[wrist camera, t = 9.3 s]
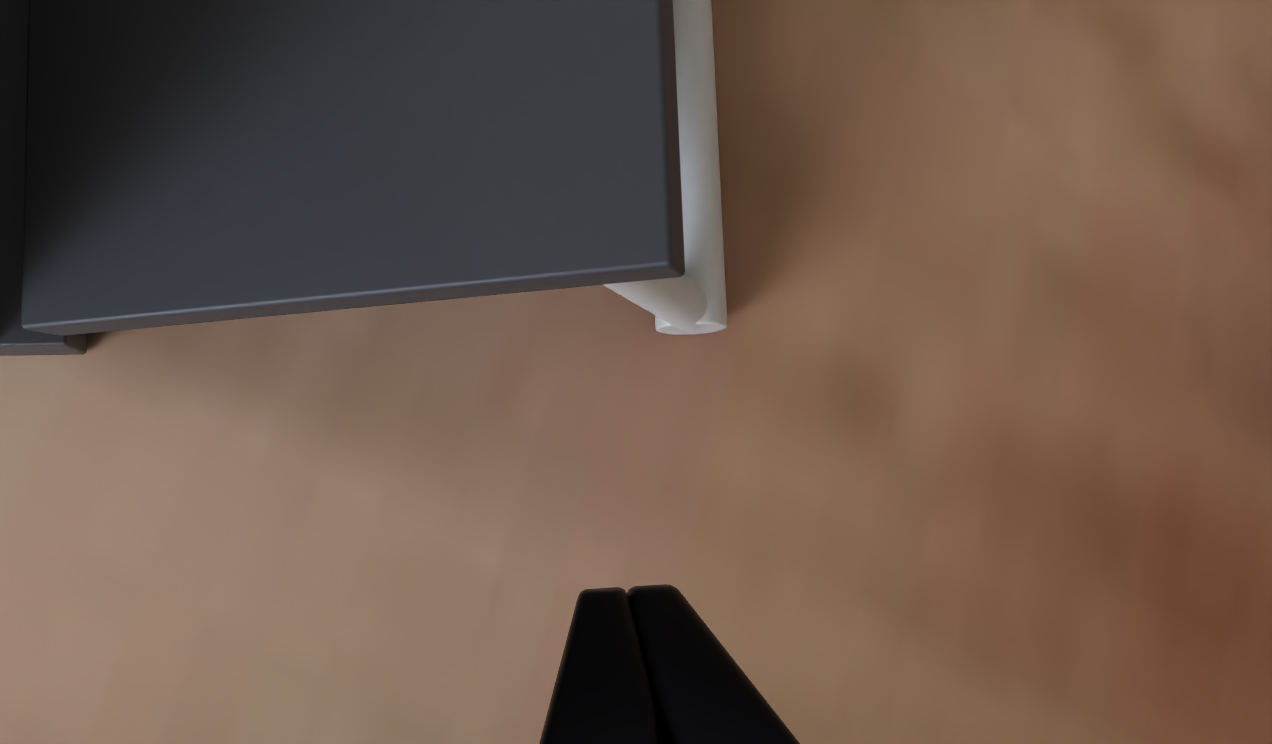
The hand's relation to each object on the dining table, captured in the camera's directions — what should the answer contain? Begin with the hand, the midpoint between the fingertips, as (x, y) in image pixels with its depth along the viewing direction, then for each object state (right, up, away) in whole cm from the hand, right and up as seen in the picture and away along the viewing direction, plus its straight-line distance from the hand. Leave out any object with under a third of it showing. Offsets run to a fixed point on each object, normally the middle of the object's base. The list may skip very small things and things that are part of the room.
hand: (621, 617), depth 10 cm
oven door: (-9, +10, +13) cm, 19 cm away
